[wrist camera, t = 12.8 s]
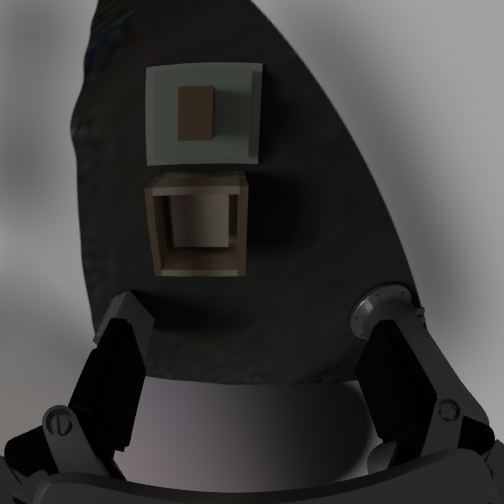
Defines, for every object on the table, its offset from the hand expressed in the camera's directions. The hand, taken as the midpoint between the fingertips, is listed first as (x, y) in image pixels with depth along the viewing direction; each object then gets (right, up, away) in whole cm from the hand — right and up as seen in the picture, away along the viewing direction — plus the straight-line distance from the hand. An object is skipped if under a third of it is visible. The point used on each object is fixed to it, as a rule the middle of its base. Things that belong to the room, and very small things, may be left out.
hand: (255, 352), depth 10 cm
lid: (-6, +19, +17) cm, 25 cm away
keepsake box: (-6, +9, +24) cm, 26 cm away
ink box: (-19, -5, +30) cm, 36 cm away
